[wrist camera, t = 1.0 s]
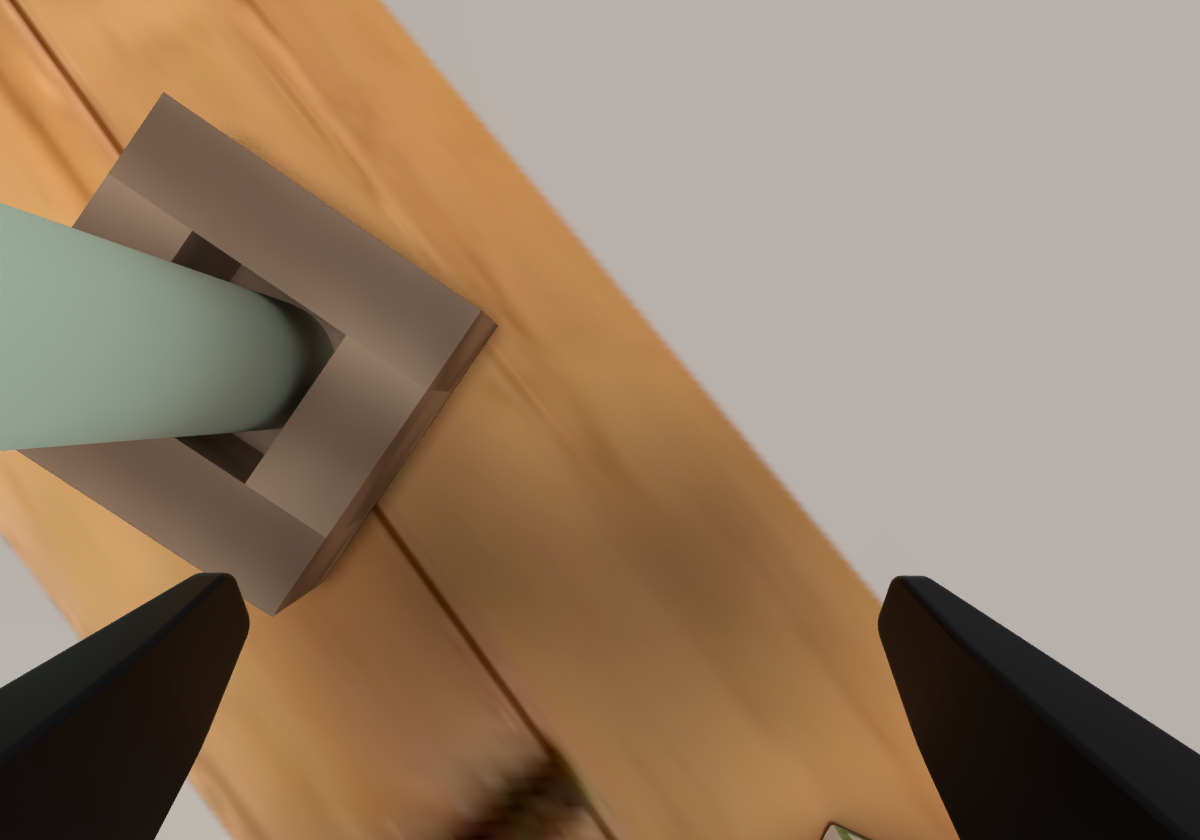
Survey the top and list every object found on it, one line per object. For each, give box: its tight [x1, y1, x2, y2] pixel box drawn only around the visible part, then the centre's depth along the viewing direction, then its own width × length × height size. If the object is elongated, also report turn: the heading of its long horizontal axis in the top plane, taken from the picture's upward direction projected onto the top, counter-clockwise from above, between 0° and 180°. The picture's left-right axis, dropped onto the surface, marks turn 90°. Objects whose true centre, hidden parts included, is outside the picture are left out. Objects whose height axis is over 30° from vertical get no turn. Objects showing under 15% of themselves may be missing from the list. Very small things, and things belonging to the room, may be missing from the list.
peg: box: [0, 203, 334, 451], centre depth 15 cm, size 5×5×12 cm
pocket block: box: [17, 92, 498, 617], centre depth 20 cm, size 12×12×4 cm
